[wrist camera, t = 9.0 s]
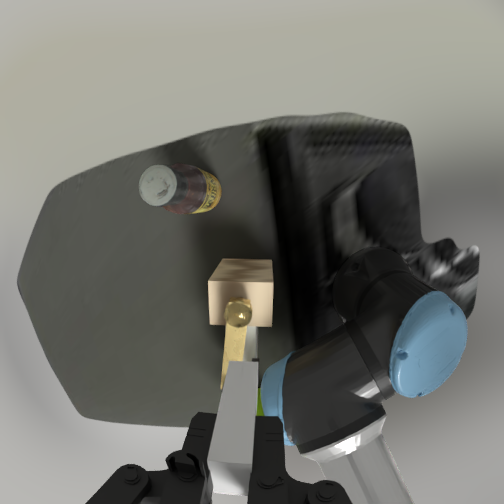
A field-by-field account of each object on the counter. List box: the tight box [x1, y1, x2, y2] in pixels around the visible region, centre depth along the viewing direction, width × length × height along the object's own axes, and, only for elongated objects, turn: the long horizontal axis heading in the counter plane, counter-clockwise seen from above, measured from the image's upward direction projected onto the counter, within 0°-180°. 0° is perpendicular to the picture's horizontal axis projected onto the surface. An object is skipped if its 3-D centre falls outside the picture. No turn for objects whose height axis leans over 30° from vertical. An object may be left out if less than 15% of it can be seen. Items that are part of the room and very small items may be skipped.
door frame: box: [208, 259, 273, 381], centre depth 41 cm, size 8×20×15 cm, turn 179°
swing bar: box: [221, 297, 253, 391], centre depth 33 cm, size 13×3×3 cm, turn 173°
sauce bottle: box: [139, 163, 222, 214], centre depth 34 cm, size 7×6×20 cm
